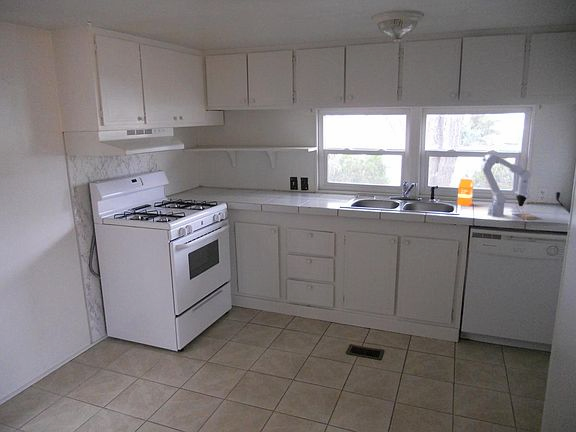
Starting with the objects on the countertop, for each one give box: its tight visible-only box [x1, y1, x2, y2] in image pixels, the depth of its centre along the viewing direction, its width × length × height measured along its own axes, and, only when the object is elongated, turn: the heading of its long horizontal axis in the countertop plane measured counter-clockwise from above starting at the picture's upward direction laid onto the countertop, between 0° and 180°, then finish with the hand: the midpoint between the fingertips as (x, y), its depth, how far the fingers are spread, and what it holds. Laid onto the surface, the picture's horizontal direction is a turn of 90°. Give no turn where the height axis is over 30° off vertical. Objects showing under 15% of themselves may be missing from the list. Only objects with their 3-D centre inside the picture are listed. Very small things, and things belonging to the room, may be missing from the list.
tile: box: [520, 213, 536, 220], centre depth 297 cm, size 6×2×6 cm
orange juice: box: [457, 178, 474, 207], centre depth 345 cm, size 8×9×20 cm
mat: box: [511, 213, 542, 221], centre depth 302 cm, size 12×17×1 cm
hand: (520, 206), depth 305 cm, fingers closed
